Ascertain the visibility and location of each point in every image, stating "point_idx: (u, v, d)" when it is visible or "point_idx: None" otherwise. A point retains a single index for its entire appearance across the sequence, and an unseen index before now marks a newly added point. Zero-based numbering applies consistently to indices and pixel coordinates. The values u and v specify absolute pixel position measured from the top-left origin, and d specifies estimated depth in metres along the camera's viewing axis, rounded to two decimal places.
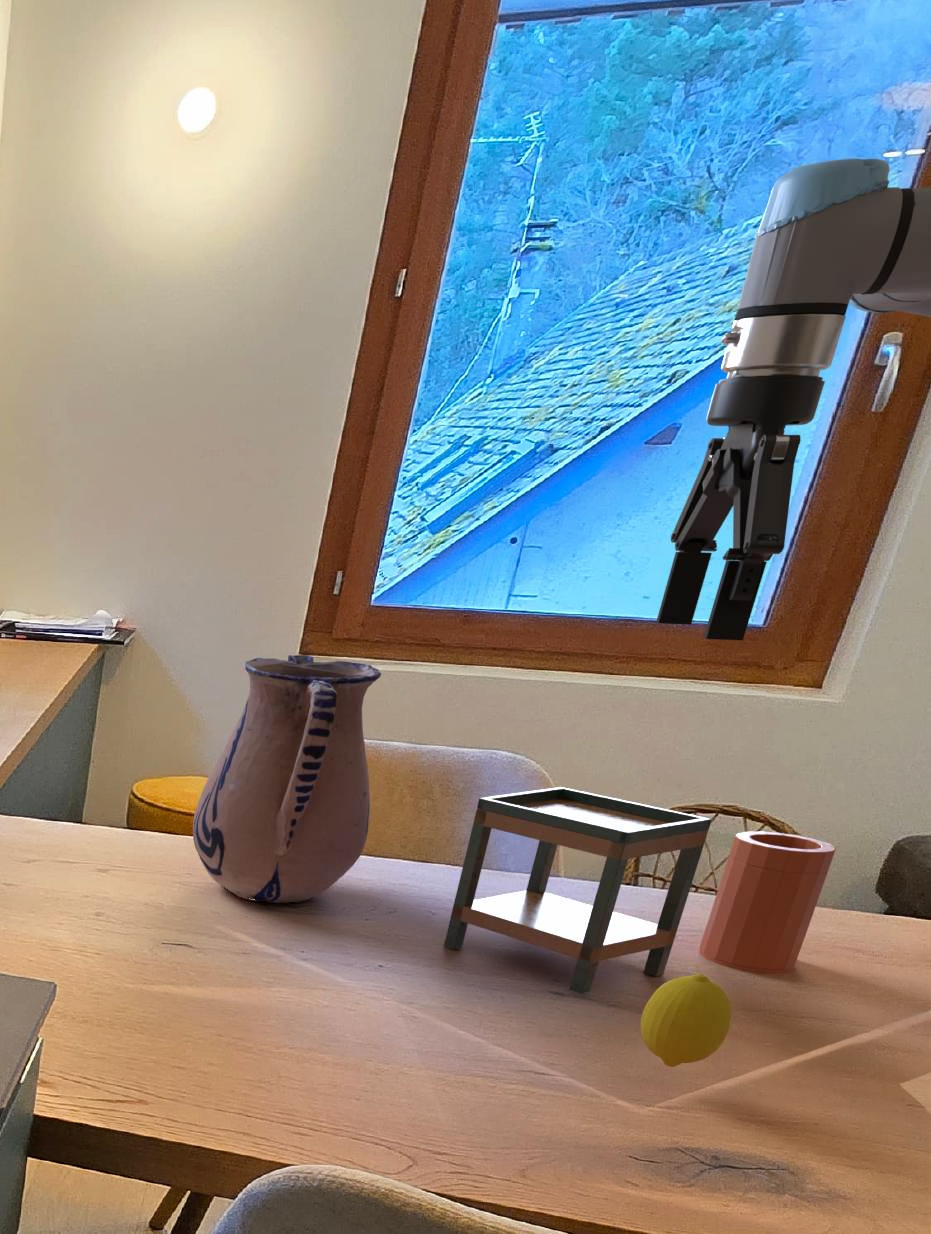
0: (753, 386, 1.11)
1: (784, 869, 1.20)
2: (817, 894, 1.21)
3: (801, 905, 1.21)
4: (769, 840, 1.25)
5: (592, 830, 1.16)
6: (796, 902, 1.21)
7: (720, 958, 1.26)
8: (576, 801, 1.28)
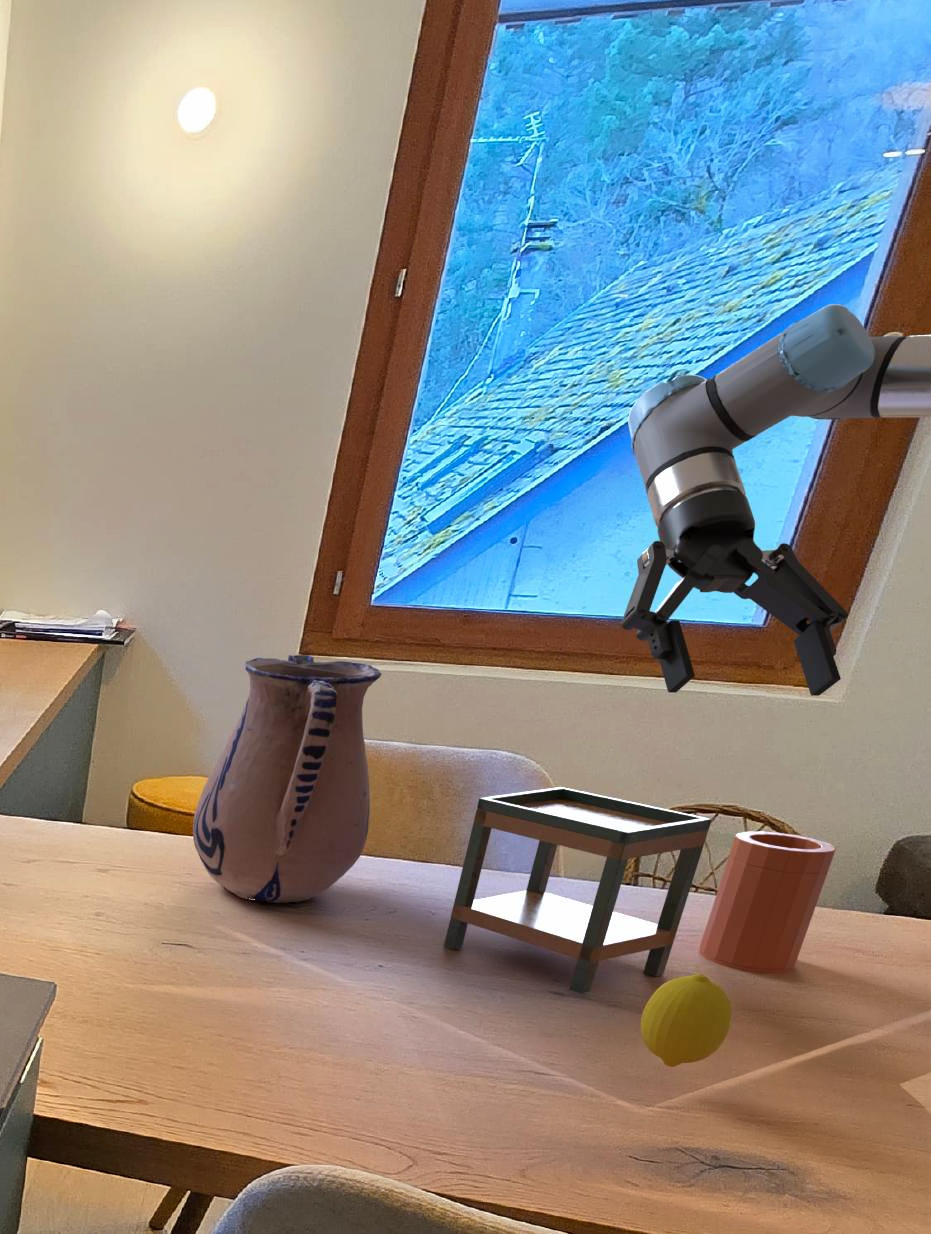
0: (658, 534, 1.36)
1: (784, 869, 1.20)
2: (817, 894, 1.21)
3: (801, 905, 1.21)
4: (769, 840, 1.25)
5: (592, 830, 1.16)
6: (796, 902, 1.21)
7: (720, 958, 1.26)
8: (576, 801, 1.28)
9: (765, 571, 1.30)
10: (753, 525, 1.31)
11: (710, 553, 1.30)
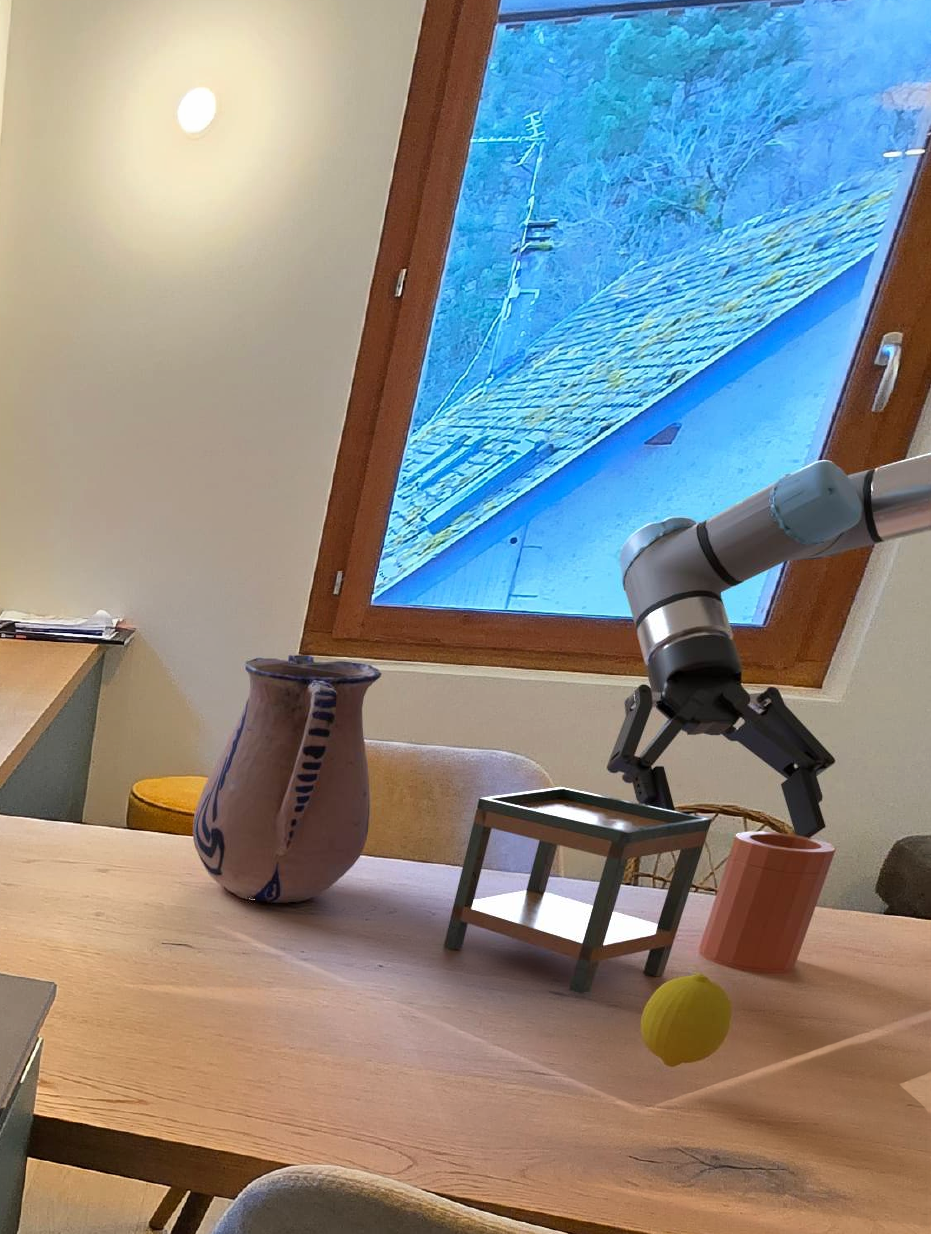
0: (647, 673, 1.38)
1: (784, 869, 1.20)
2: (817, 894, 1.21)
3: (801, 905, 1.21)
4: (769, 840, 1.25)
5: (592, 830, 1.16)
6: (796, 902, 1.21)
7: (720, 958, 1.26)
8: (576, 801, 1.28)
9: (751, 716, 1.31)
10: (740, 669, 1.33)
11: (696, 698, 1.32)
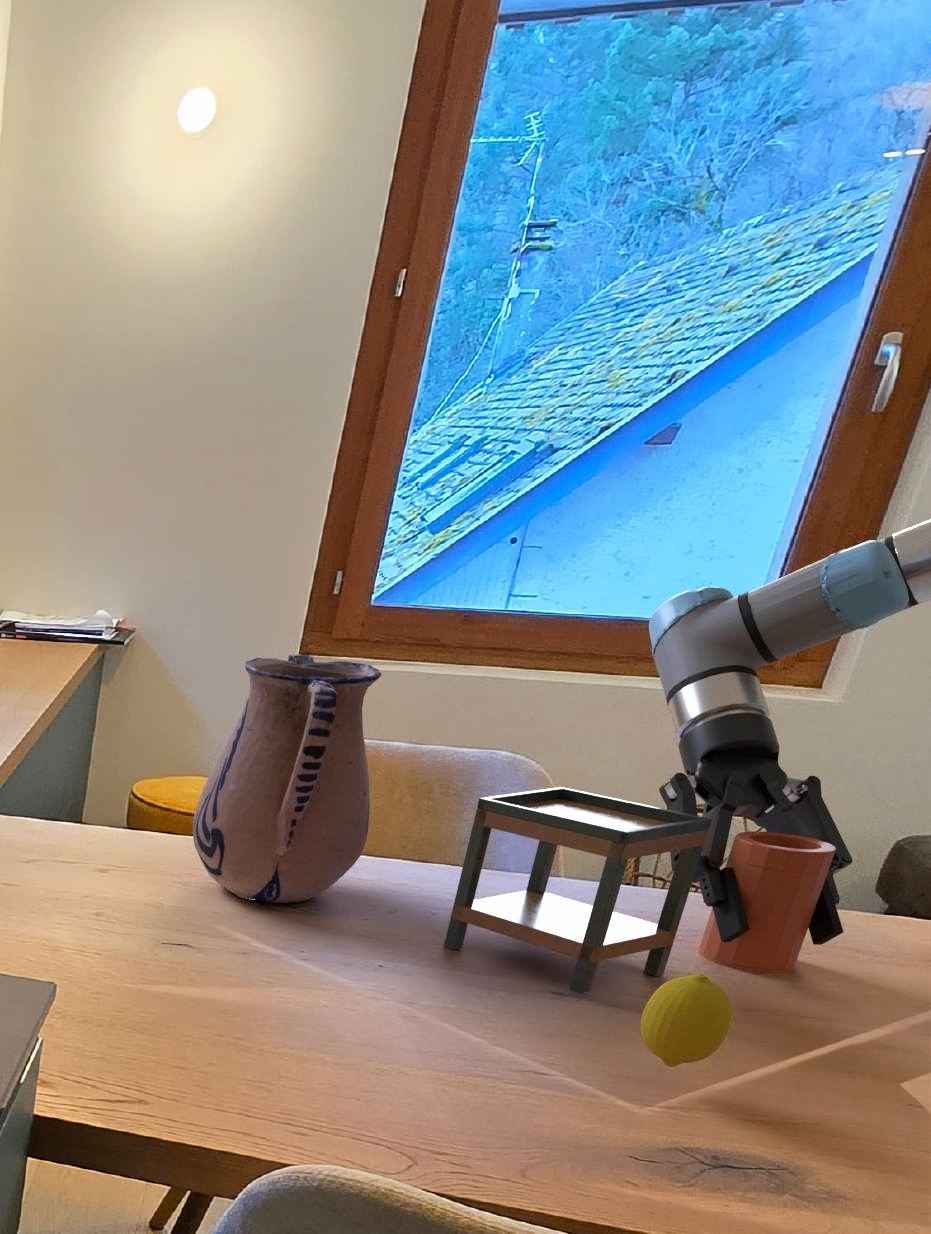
0: (679, 750, 1.33)
1: (784, 869, 1.20)
2: (817, 894, 1.21)
3: (801, 905, 1.21)
4: (769, 840, 1.25)
5: (592, 830, 1.16)
6: (796, 902, 1.21)
7: (720, 958, 1.26)
8: (576, 801, 1.28)
9: (782, 802, 1.26)
10: (777, 749, 1.27)
11: (734, 781, 1.27)
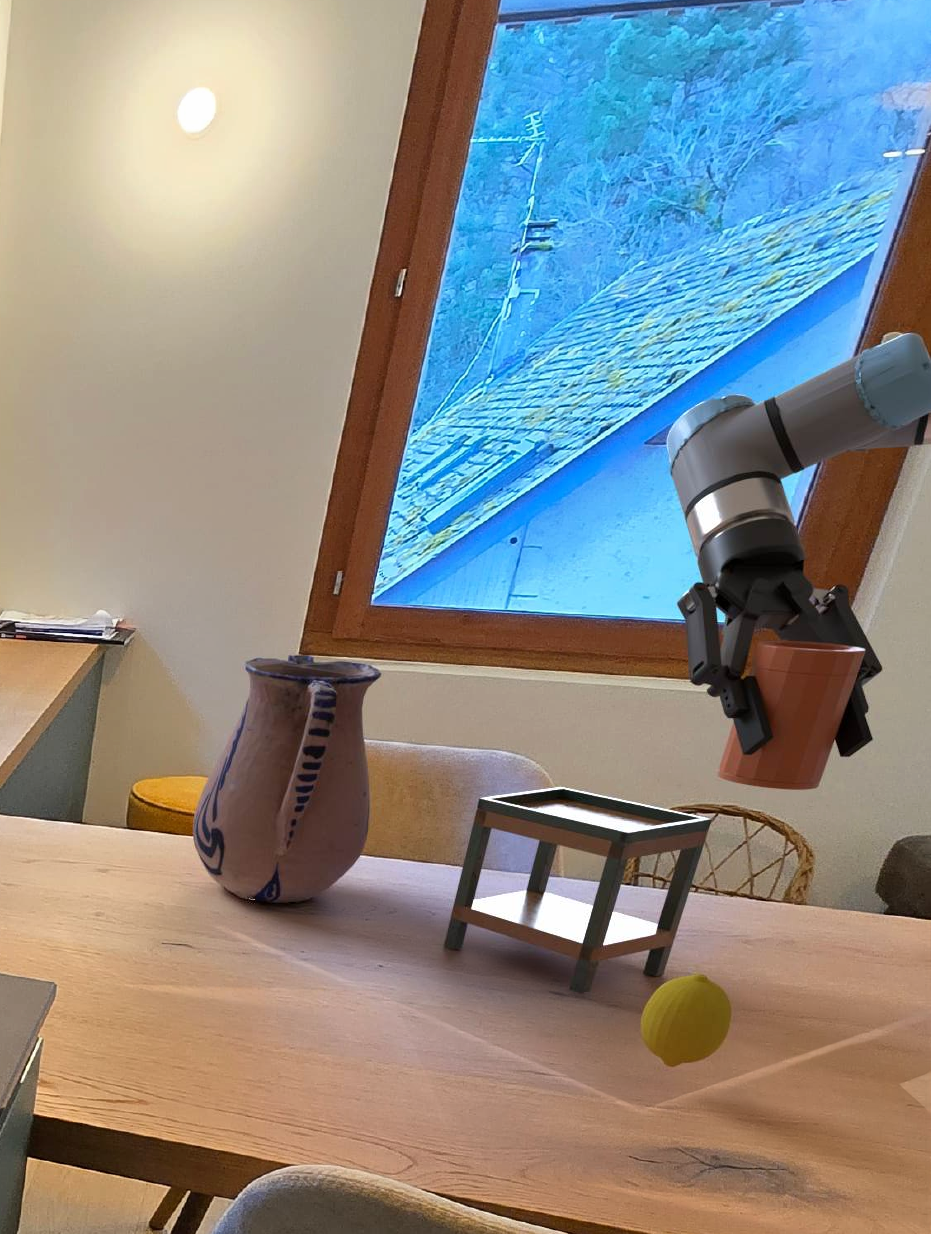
0: (698, 565, 1.26)
1: (810, 671, 1.13)
2: (845, 700, 1.14)
3: (828, 711, 1.14)
4: None
5: (592, 830, 1.16)
6: (822, 708, 1.14)
7: (741, 774, 1.19)
8: (576, 801, 1.28)
9: (807, 610, 1.19)
10: (803, 556, 1.20)
11: (757, 589, 1.20)
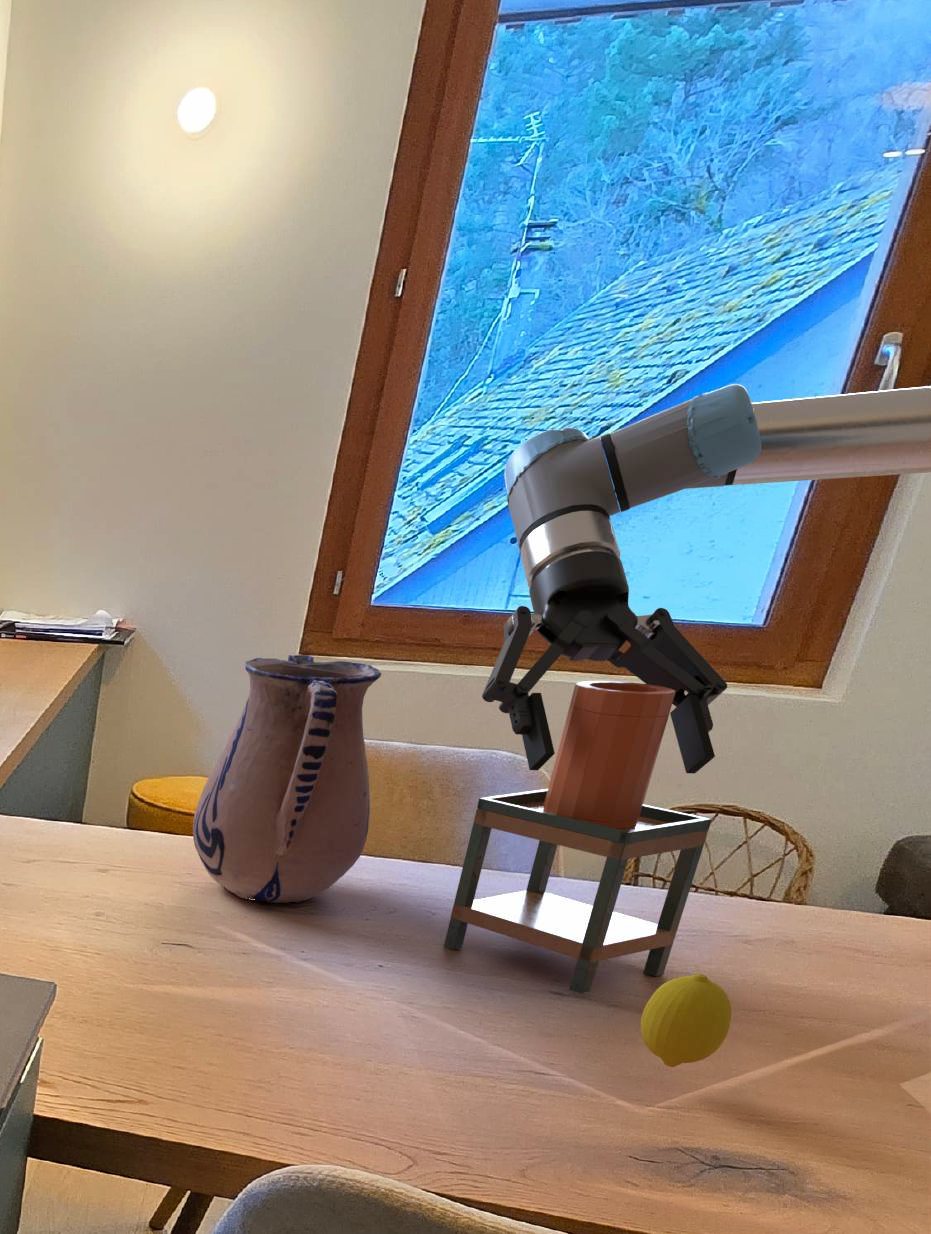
0: (530, 597, 1.27)
1: (621, 713, 1.15)
2: (656, 740, 1.16)
3: (639, 752, 1.16)
4: (611, 689, 1.20)
5: (592, 830, 1.16)
6: (634, 748, 1.16)
7: (561, 813, 1.20)
8: None
9: (637, 639, 1.20)
10: (626, 589, 1.22)
11: (578, 619, 1.21)
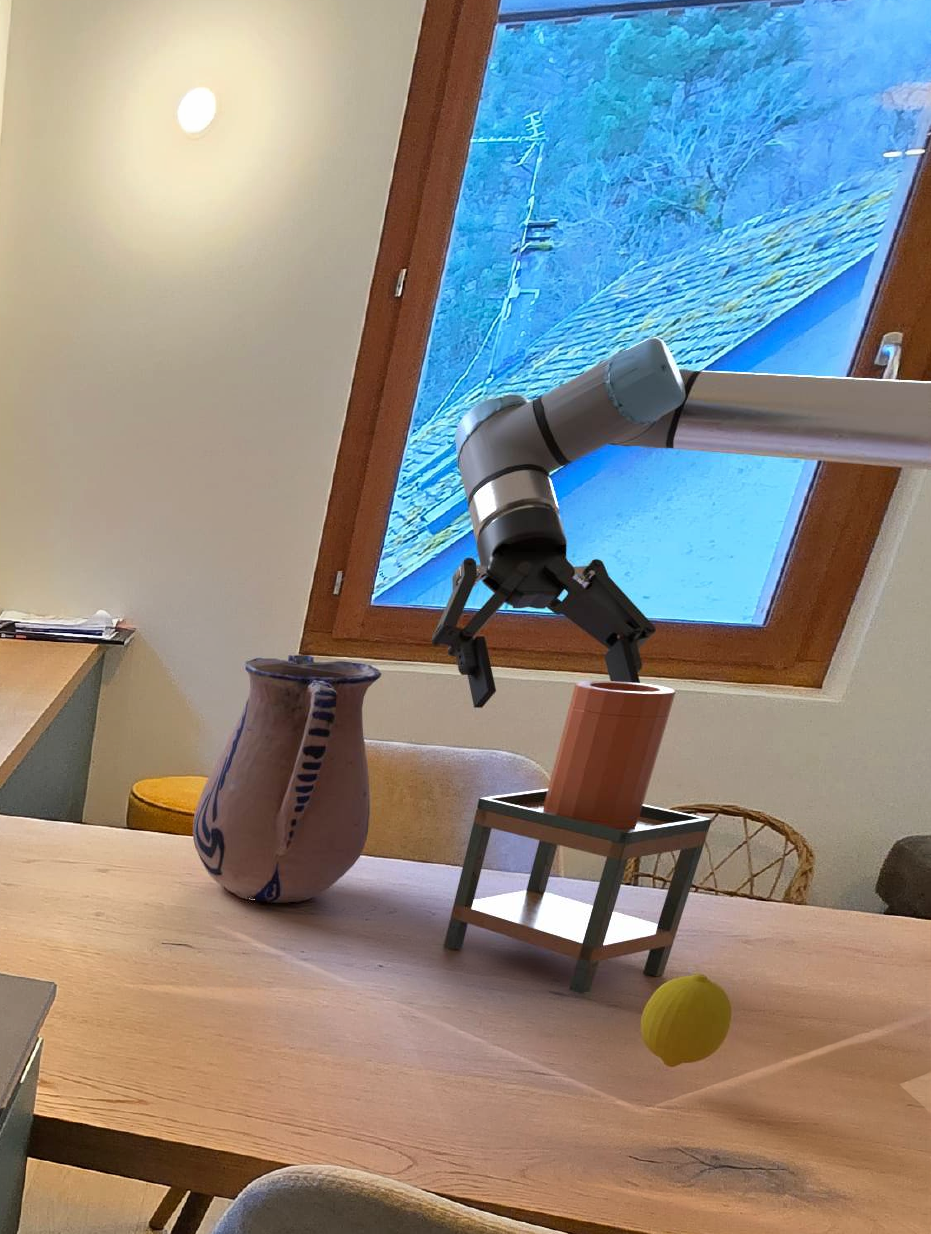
0: None
1: (621, 713, 1.15)
2: (656, 740, 1.16)
3: (639, 752, 1.16)
4: (611, 689, 1.20)
5: (592, 830, 1.16)
6: (634, 748, 1.16)
7: (561, 813, 1.20)
8: None
9: (574, 587, 1.30)
10: (564, 541, 1.32)
11: (519, 569, 1.31)
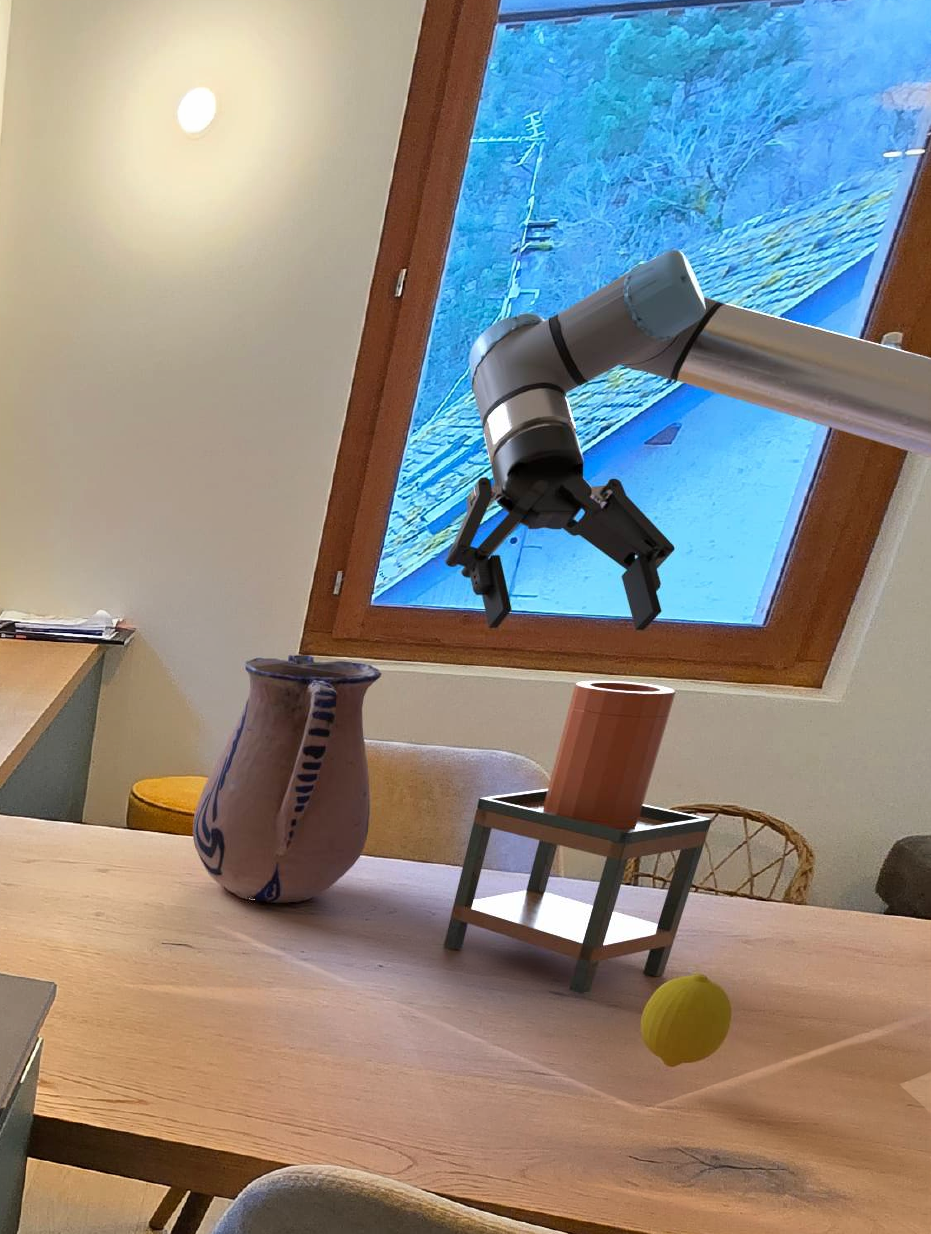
0: (492, 473, 1.35)
1: (621, 713, 1.15)
2: (656, 740, 1.16)
3: (639, 752, 1.16)
4: (611, 689, 1.20)
5: (592, 830, 1.16)
6: (634, 748, 1.16)
7: (561, 813, 1.20)
8: None
9: (591, 506, 1.28)
10: (581, 460, 1.29)
11: (535, 488, 1.29)
